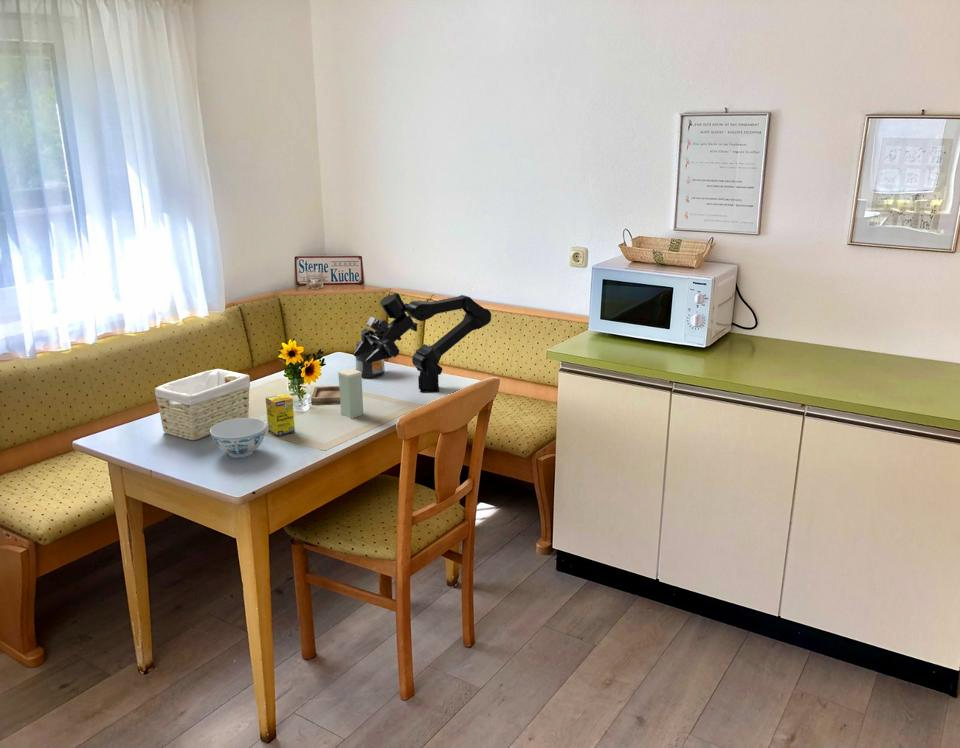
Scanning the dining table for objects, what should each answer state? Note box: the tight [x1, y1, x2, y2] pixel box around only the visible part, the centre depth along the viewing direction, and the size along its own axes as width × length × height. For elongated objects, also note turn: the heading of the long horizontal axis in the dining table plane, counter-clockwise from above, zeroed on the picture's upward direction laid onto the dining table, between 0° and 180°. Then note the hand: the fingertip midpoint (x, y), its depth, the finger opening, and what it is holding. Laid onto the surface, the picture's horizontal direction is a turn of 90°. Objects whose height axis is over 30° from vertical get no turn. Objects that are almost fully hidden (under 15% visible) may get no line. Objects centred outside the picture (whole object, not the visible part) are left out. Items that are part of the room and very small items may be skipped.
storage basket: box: [154, 368, 251, 441], centre depth 239 cm, size 24×16×15 cm
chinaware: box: [210, 417, 267, 458], centre depth 220 cm, size 15×15×8 cm
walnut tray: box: [310, 385, 340, 405], centre depth 265 cm, size 12×12×2 cm
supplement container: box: [355, 340, 386, 379], centre depth 287 cm, size 10×10×12 cm
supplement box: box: [265, 393, 296, 438], centre depth 234 cm, size 6×6×11 cm
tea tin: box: [337, 367, 364, 419], centre depth 248 cm, size 5×5×14 cm
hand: (360, 358), depth 255 cm, fingers open, 9 cm apart
